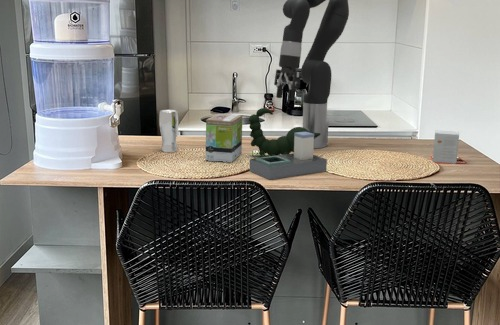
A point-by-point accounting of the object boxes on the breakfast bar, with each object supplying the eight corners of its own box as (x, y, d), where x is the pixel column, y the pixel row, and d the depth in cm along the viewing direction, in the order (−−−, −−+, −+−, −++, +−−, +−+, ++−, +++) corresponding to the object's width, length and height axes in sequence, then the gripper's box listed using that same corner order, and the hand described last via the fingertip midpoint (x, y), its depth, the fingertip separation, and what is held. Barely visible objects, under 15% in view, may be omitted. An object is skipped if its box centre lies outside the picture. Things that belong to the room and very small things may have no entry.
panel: (304, 163, 189) (304, 150, 188) (326, 171, 179) (326, 157, 178) (249, 171, 178) (249, 157, 177) (269, 179, 168) (270, 165, 167)
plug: (304, 166, 185) (305, 131, 182) (312, 169, 181) (314, 133, 178) (293, 168, 183) (294, 132, 180) (301, 171, 179) (302, 135, 176)
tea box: (233, 163, 189) (233, 120, 185) (204, 161, 190) (204, 119, 187) (242, 153, 203) (242, 113, 199) (216, 152, 205) (216, 112, 201)
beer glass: (156, 151, 204) (155, 111, 200) (166, 147, 210) (165, 109, 207) (173, 153, 201) (172, 112, 198) (182, 149, 208) (181, 110, 204)
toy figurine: (251, 164, 194) (322, 159, 193) (247, 111, 190) (320, 105, 188) (252, 158, 203) (320, 153, 202) (248, 107, 199) (318, 102, 197)
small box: (456, 160, 196) (459, 131, 194) (456, 164, 191) (459, 134, 189) (432, 158, 199) (435, 129, 196) (432, 162, 194) (435, 132, 191)
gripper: (309, 56, 196) (303, 102, 199) (289, 55, 209) (283, 97, 212) (291, 54, 193) (286, 100, 196) (272, 52, 205) (266, 96, 208)
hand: (284, 99), depth 204 cm, fingers open, 8 cm apart
